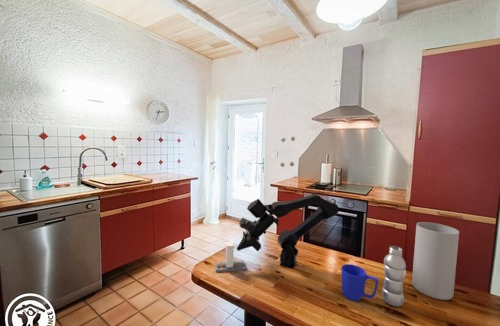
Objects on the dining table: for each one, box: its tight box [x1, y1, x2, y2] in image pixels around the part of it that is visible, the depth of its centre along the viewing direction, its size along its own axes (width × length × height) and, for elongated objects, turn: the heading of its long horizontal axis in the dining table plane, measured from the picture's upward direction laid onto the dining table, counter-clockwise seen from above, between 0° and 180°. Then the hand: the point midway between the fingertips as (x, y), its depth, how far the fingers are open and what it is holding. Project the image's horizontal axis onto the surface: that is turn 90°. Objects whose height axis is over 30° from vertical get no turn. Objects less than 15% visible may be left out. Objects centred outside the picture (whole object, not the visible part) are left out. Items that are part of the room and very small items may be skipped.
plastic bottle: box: [381, 245, 407, 307], centre depth 79 cm, size 6×7×20 cm
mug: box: [340, 263, 379, 302], centre depth 81 cm, size 8×12×10 cm
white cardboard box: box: [225, 241, 235, 268], centre depth 99 cm, size 3×5×10 cm, turn 9°
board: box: [215, 262, 247, 273], centre depth 99 cm, size 13×6×1 cm, turn 99°
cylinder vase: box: [411, 221, 460, 301], centre depth 86 cm, size 12×12×25 cm
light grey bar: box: [216, 260, 245, 267], centre depth 99 cm, size 12×2×2 cm, turn 99°
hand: (237, 249), depth 99 cm, fingers closed
